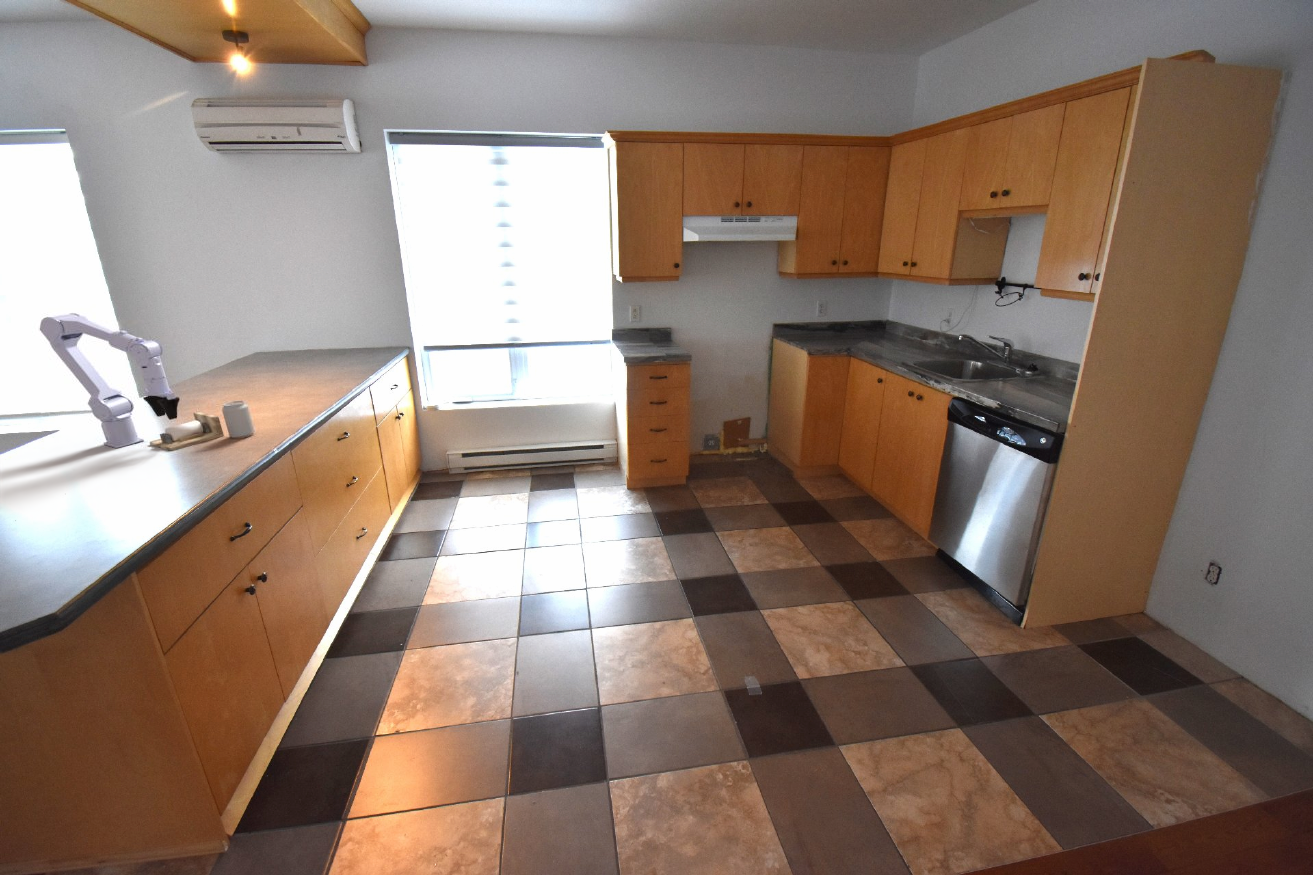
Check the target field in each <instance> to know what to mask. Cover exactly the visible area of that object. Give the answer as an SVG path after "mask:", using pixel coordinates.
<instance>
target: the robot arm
mask: <svg viewBox="0 0 1313 875" xmlns="http://www.w3.org/2000/svg"><path fill="white" fill-rule="evenodd" d="M39 331H40V333H42V335H43V336H44V337H45V338H46V339H47V341H48V342H49V345H50V346H51V348H52V350H53V351H54V352H55V353H56V355H57V356H58V357H59V359H61V361H62V362H63V364H64V365H66V367H67V368H68V369H69V371H70V372H71V373H72V374H73V375H74V377H75V378H76V379H77V380H78V382H79V383H80V384H81V385H82V387H83V388H84V389H85V390H86V391H87V392H88V394H89V395H90V398H89V399H88V402H87V405H88V406H89V408H90V410H91V413H92V414H93V416H94V417H95V418H96V419H97V420H99V421H100V423H101V425H100V426H101V430H102V433H103V435H104V438H105V440H106V441H105V442H103V444H104V445H106V446H108V447H113V448H115V449H117V448H122V447H127V446H129V445H133V444H137V443H142V442H144V441H145V439H144V438H141V437H138V435H137V434H138V433H137V430H136V428H135V425H134V422H133V419H132V415H133V413H132V412H133V411H134V407H135V406H134V402H133V401H132V400H131V399H130V398H129V397H128V396H126V395H125V394H124V393H123V392H122V391H121V390H118V389H115V388H112V387H110V386H109V385H108V382H107V381H106V380H105V379H104V378H103V377H102V376H101V375H100V373H99V372H98V371H97V370H96V368H95V367H94V366H93V365H92V363H91V362H90V360H89V359H88V358H87V357H86V356H85V354H84V353H83V352H82V351H81V349H80V348H79V347H78V342H79V341H80V339H81V338H82V336H83V335H88V336H91V337H94V338H97V339H99V340H103V341H106V342H108V345H109V346H110V347H111V348H114V349H117V350H119V351H121V352H125V353H127V354H129V355H130V356H131V357H132V358H133V359H134V360H135V362H136V364H137V365H138V367H139V368H140V372H141V374H142V377H143V381H144V384H145V387H146V388H145V389H144V393H143V396H144V397H142V399H143V400H144V401H145V402H146V403H147V404H148V405H149V406H150V408H151V409H152V411H153V412H154V414H155V416H156V417H162V416H166V417H167V419H168V420H170V421H172V420H175V419H178V406H179V402H180V397H179V396H176V395H175V392H173V391H172V390H171V388H170V385H169V383H168V382H169V381H168V379H167V375H166V372H165V369H164V365H163V362H162V359H161V356H162V355H163V353H164V352H163V351H164V350H163V347H162V345H161V344H160V343H159V342H158V341H156V340H154V339H147V340H146V339H143V338H142V337H140V336H139V337H138V336H135V335H132V334H129V333H128V331H126V330H116V331H112V330H111V329H108V328H106V327H104V326H102V325H99V324H98V323H95V322H93V321H91V320H88V318H87V317H86V316H85V315H80V314H78V313H76V312H72V313H69V314H62V315H56V316H55V315H54V316H46V317H44V318H42V320H41V321H40V326H39Z"/></svg>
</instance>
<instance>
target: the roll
mask: <svg viewBox="0 0 1313 875" xmlns="http://www.w3.org/2000/svg"><path fill="white" fill-rule="evenodd" d="M164 433H165V434H169V435H170V437H171V440H172V442H174V441H178V440H179V439H181V438H185V437H189V436H192V435H196V434H200V433H203V427H202V425H201V424H200V422H199V421H197V420H196V421H195V420H192V421H189V422H185V423H181V424H177V425H174V426H170V427H166V428H165V429H164Z"/></svg>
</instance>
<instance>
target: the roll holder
mask: <svg viewBox="0 0 1313 875" xmlns="http://www.w3.org/2000/svg"><path fill="white" fill-rule="evenodd" d="M192 414H193V417H194V421H196V420H197V421H199V422H200V424H201V425H202V427H203V433H200V434H196V435H192V436H189V437H185V438H181V439H179V440H178V441H174V442H172V440H171V437H170V435H169V434H165V432H162V433H160V434H159V437H160V438H159V439H155V440H152V441H149V445H151V446H153V447H157V448H161V449H164V450H166V451H167V450H168V451H170V452H173V451H176V450H177V451H178V450H179V449H183V448H187V447H190V446H193V445H197V444H200V443H204V442H207V441H212V440H214V439H215V440H216V439H218V438H221V437H224V436H225V434H224V431H223V427H222V425H221V420H220V418H219V416H217V415H212V414H208V413H203V412H199V411H195V412H193V413H192Z"/></svg>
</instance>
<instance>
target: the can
mask: <svg viewBox="0 0 1313 875" xmlns="http://www.w3.org/2000/svg"><path fill="white" fill-rule="evenodd" d="M222 406H223V407H222V409H221V411H222V415H223V418H224V422H225V425H226V429H227V433H228V435H229V437H231V438H233V439H244V438H248V437H251V436H252V435H253V434H254V433H255V427H254V424H253V419H252V417H251V412H250V409H249V408H250V407H249V405H248V404H247V403H245V401H244V400H235V401H234V400H233V401H229V402H226V403H225V402H224V403H223V404H222Z"/></svg>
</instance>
